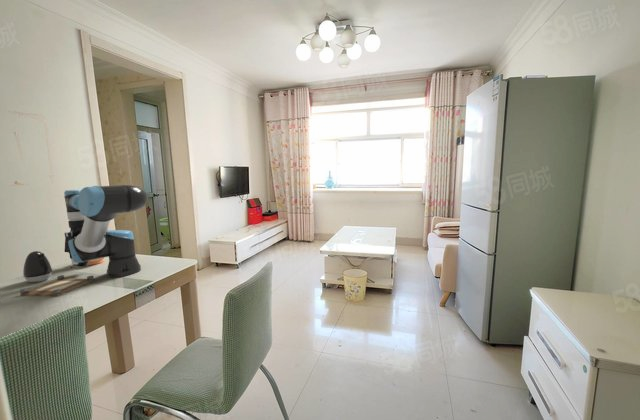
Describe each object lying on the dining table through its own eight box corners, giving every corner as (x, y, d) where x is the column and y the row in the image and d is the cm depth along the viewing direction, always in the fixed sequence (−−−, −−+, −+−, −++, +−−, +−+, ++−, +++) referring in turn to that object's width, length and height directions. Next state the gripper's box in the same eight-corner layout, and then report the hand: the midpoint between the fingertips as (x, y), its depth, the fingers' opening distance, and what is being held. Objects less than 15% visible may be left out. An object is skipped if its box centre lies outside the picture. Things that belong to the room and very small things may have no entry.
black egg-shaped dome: (35, 285, 134) (30, 254, 132) (19, 283, 136) (13, 253, 134) (58, 277, 144) (54, 248, 142) (43, 276, 146) (38, 248, 144)
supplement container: (68, 262, 145) (76, 243, 146) (83, 263, 151) (91, 245, 152) (74, 266, 142) (82, 246, 143) (89, 267, 147) (97, 248, 149)
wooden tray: (95, 280, 139) (94, 275, 138) (57, 296, 120) (56, 291, 120) (61, 279, 140) (60, 275, 140) (19, 296, 122) (18, 290, 122)
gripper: (89, 216, 155) (95, 255, 158) (49, 223, 134) (56, 268, 137) (102, 216, 155) (107, 255, 158) (63, 223, 133) (70, 268, 136)
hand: (83, 261), depth 147 cm, fingers closed on supplement container, 9 cm apart
